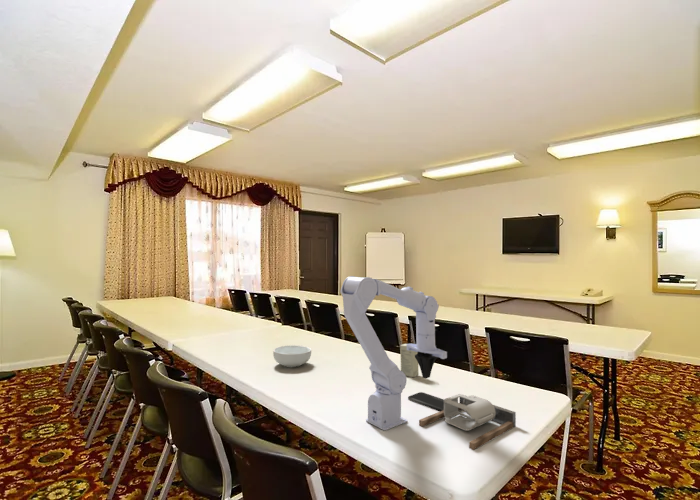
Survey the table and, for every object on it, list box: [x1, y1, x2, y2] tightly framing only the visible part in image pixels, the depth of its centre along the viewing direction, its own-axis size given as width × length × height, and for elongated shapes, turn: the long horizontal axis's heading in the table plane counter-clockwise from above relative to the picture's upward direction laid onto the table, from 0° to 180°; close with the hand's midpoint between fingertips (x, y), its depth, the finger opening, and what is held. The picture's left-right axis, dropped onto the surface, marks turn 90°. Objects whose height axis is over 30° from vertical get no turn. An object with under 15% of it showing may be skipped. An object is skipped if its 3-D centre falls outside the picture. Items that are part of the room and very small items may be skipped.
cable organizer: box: [443, 393, 496, 432], centre depth 105 cm, size 7×12×12 cm
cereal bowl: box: [272, 344, 312, 368], centre depth 164 cm, size 17×17×7 cm
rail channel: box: [418, 394, 517, 451], centre depth 103 cm, size 21×17×4 cm
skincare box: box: [399, 343, 420, 378], centre depth 150 cm, size 6×4×12 cm
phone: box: [407, 391, 445, 412], centre depth 120 cm, size 8×1×15 cm
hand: (426, 377), depth 114 cm, fingers closed
